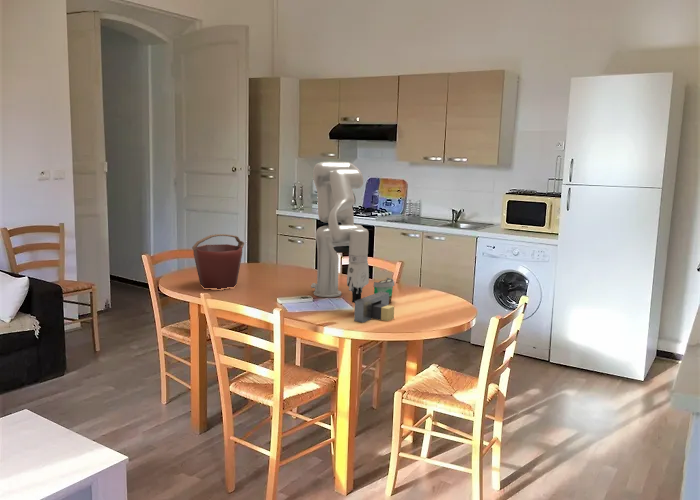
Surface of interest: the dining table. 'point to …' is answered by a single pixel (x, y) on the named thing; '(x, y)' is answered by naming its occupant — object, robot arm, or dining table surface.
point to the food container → (384, 287)
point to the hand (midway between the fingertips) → (356, 302)
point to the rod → (382, 312)
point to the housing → (369, 305)
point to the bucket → (218, 263)
